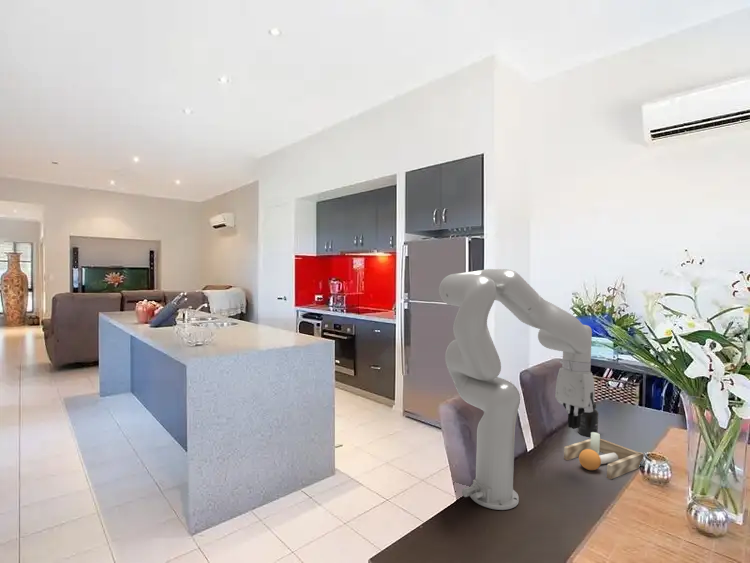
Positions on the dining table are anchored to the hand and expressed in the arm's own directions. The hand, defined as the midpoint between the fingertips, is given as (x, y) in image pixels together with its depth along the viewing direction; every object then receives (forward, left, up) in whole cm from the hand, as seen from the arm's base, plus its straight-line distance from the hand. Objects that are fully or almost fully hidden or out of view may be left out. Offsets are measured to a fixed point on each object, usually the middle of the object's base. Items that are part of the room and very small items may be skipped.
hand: (573, 427), depth 125 cm
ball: (+8, -1, -11) cm, 13 cm away
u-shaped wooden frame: (+16, 0, -14) cm, 21 cm away
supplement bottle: (+35, +17, -14) cm, 41 cm away
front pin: (+12, 0, -13) cm, 18 cm away
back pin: (+16, +2, -14) cm, 21 cm away
